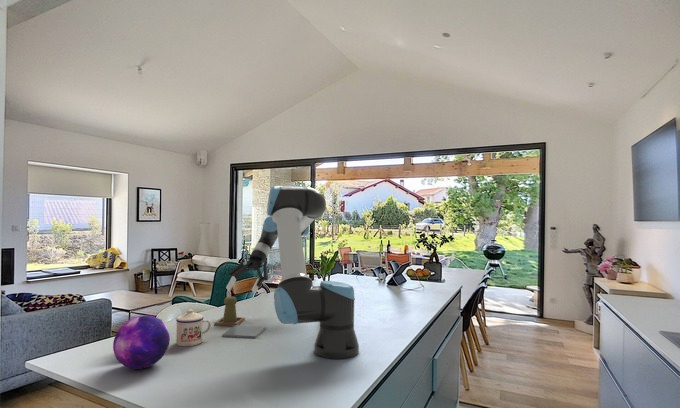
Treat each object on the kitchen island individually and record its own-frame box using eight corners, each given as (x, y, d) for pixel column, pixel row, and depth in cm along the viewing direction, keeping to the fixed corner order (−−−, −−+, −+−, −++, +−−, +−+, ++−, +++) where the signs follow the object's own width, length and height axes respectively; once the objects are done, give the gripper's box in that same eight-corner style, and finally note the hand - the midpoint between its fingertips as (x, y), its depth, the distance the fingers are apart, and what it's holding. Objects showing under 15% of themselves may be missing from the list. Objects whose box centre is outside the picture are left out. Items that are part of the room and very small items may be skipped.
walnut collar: (236, 326, 157) (236, 323, 157) (214, 325, 158) (214, 322, 158) (244, 320, 167) (244, 317, 167) (223, 319, 168) (223, 316, 168)
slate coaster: (255, 338, 142) (255, 336, 142) (222, 336, 144) (222, 334, 144) (266, 328, 155) (266, 326, 155) (235, 326, 157) (235, 324, 157)
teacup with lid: (178, 348, 130) (179, 314, 130) (172, 341, 137) (173, 308, 138) (214, 342, 137) (215, 309, 137) (206, 336, 144) (207, 304, 145)
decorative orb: (106, 366, 114) (108, 315, 114) (158, 354, 124) (160, 307, 125) (120, 382, 103) (122, 326, 104) (176, 367, 114) (178, 316, 114)
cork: (231, 320, 167) (232, 294, 167) (240, 322, 163) (240, 296, 163) (219, 323, 162) (220, 296, 163) (227, 325, 158) (228, 299, 159)
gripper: (285, 260, 183) (267, 298, 168) (241, 257, 192) (221, 293, 177) (279, 250, 178) (261, 287, 164) (235, 248, 187) (214, 283, 173)
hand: (240, 290), depth 170 cm, fingers open, 13 cm apart
